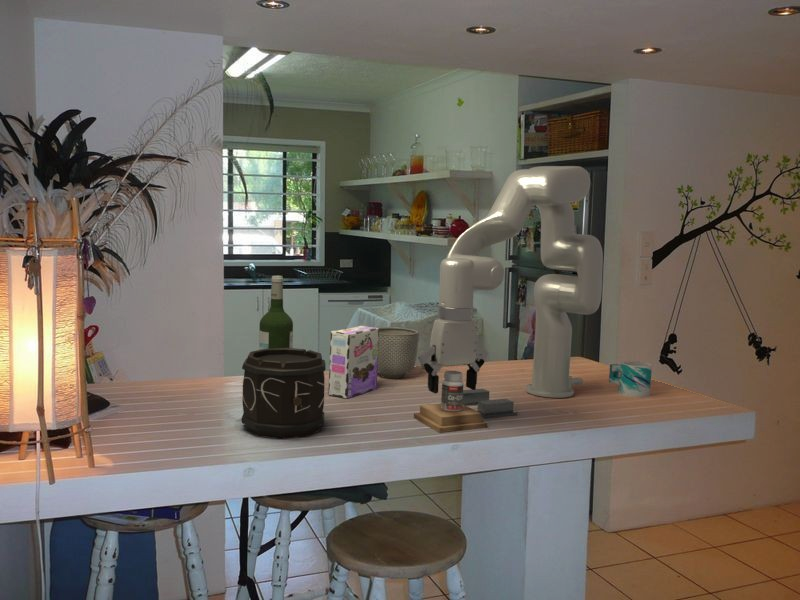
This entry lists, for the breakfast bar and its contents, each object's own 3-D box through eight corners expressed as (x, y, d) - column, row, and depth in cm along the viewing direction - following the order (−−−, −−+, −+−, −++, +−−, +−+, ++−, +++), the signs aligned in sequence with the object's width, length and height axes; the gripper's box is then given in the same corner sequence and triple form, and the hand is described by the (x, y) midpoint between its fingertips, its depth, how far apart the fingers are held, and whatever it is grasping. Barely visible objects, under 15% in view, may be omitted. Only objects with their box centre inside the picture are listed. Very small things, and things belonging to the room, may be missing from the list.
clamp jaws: (481, 399, 190) (482, 387, 189) (517, 415, 176) (517, 402, 176) (451, 401, 186) (451, 390, 185) (484, 418, 172) (485, 405, 172)
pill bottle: (447, 412, 164) (449, 375, 163) (437, 407, 168) (438, 371, 167) (466, 411, 166) (468, 374, 165) (455, 405, 171) (456, 369, 170)
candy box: (346, 399, 184) (348, 333, 182) (327, 395, 187) (329, 330, 185) (377, 389, 196) (380, 327, 194) (359, 385, 199) (361, 324, 197)
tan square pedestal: (459, 413, 176) (459, 400, 175) (486, 427, 165) (487, 414, 164) (413, 417, 170) (414, 404, 170) (439, 432, 160) (440, 419, 159)
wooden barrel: (250, 444, 147) (252, 365, 145) (232, 419, 163) (233, 348, 161) (337, 436, 154) (340, 361, 152) (312, 413, 170) (314, 345, 168)
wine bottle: (297, 400, 181) (300, 277, 178) (271, 405, 176) (274, 278, 172) (277, 393, 187) (280, 274, 183) (251, 398, 181) (253, 275, 177)
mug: (634, 398, 197) (637, 367, 196) (601, 388, 207) (603, 358, 206) (656, 395, 201) (658, 365, 200) (622, 386, 211) (624, 356, 210)
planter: (372, 369, 220) (374, 325, 218) (419, 372, 218) (421, 328, 216) (364, 379, 206) (365, 333, 204) (414, 383, 204) (416, 336, 203)
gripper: (479, 310, 172) (476, 383, 174) (412, 313, 164) (410, 389, 166) (497, 315, 165) (494, 391, 167) (429, 318, 157) (426, 397, 160)
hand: (452, 390), depth 167 cm, fingers open, 9 cm apart
